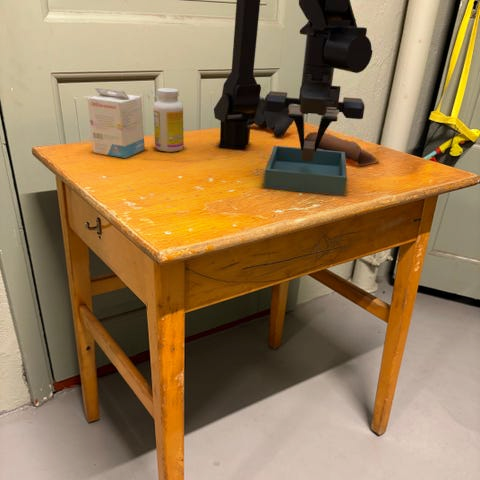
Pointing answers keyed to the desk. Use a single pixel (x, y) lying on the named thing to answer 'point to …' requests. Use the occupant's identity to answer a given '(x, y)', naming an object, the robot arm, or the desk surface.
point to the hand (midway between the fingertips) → (308, 150)
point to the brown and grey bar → (308, 151)
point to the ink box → (116, 123)
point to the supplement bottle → (168, 121)
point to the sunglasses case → (343, 148)
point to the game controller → (272, 120)
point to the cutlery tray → (306, 171)
